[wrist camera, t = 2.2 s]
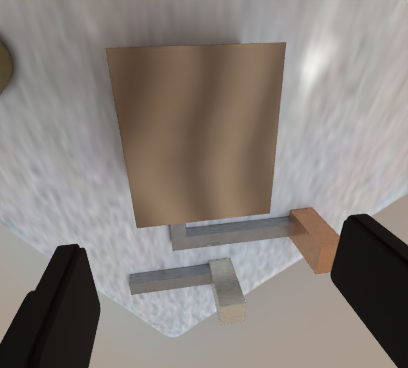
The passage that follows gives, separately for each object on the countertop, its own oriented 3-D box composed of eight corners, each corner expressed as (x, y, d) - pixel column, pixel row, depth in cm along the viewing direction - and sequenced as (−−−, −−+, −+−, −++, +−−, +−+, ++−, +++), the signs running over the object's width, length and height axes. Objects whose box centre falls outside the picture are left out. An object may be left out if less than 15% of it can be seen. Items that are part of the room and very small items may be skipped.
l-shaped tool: (230, 257, 49) (246, 303, 41) (230, 273, 51) (244, 320, 42) (129, 270, 47) (123, 322, 38) (133, 287, 49) (127, 339, 40)
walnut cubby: (241, 44, 34) (285, 42, 22) (238, 166, 41) (269, 213, 30) (124, 48, 32) (105, 48, 20) (143, 175, 40) (136, 228, 28)
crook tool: (318, 172, 44) (358, 203, 35) (307, 230, 49) (340, 270, 41) (166, 187, 41) (168, 225, 32) (172, 247, 46) (176, 294, 38)
